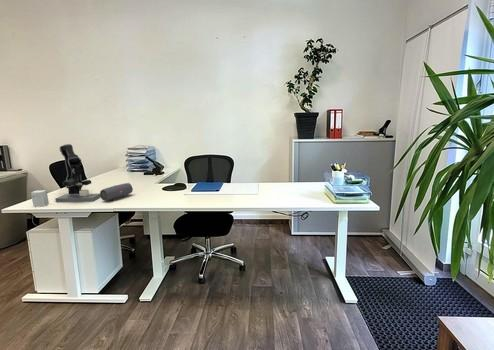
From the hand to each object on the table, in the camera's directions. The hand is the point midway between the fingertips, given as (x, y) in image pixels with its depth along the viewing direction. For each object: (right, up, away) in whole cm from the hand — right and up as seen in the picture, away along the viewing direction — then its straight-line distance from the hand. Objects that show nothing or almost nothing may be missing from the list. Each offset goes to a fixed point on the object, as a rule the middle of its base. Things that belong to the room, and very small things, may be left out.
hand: (78, 193), depth 231 cm
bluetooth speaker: (+29, -4, +2) cm, 29 cm away
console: (0, -4, +1) cm, 5 cm away
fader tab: (+4, -1, 0) cm, 4 cm away
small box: (-21, -8, -11) cm, 25 cm away
